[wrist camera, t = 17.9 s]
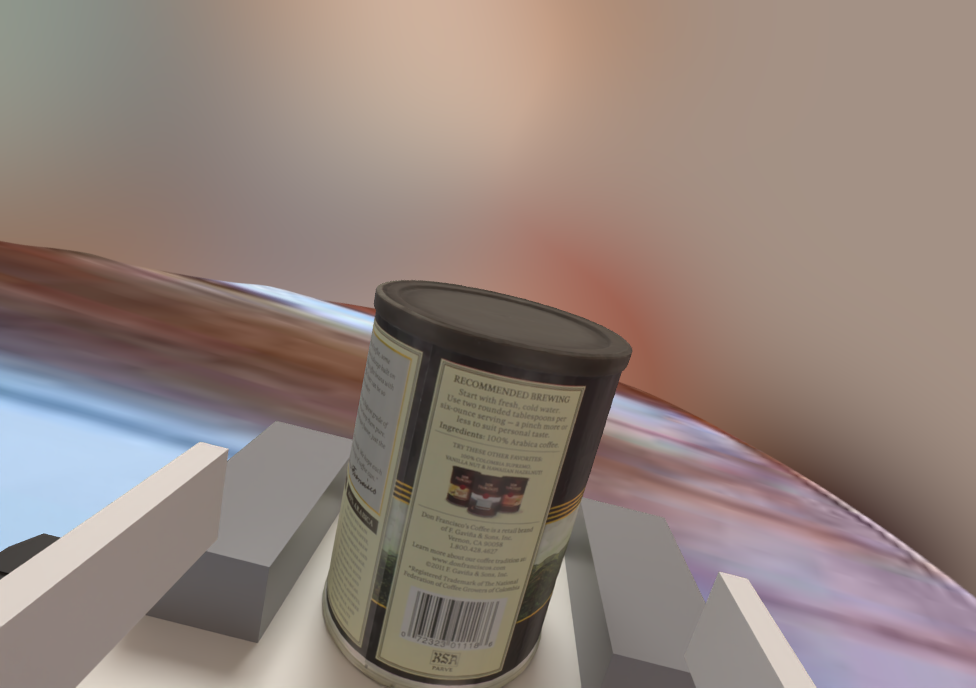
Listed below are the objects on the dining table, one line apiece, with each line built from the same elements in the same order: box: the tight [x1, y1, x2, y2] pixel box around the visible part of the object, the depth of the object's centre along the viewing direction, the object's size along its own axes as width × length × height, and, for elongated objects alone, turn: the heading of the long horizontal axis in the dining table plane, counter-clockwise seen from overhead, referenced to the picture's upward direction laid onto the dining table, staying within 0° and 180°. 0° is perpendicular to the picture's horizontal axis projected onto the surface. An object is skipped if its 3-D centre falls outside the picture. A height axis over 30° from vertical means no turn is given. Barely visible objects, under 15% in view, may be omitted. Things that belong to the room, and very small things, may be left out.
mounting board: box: [76, 512, 581, 688], centre depth 24 cm, size 17×25×1 cm
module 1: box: [145, 421, 353, 643], centre depth 25 cm, size 11×5×4 cm, turn 176°
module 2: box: [564, 497, 706, 688], centre depth 25 cm, size 11×5×4 cm, turn 176°
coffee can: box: [322, 280, 632, 688], centre depth 22 cm, size 10×10×14 cm
